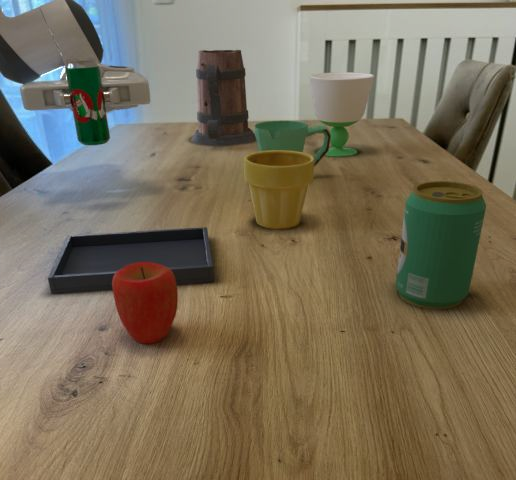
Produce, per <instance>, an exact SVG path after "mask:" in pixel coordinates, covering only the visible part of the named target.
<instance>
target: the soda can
mask: <svg viewBox="0 0 516 480" xmlns="http://www.w3.org/2000/svg"><path fill="white" fill-rule="evenodd" d="M66 62H67V64H66V67H65V66H64V67H65V72H66V77H67V83H68V88H69V94H70V98H71V103H72V110H73V112H72V115H73V120H74V127H75V133H76V137H77V141H78V142H79V143H80V144H82V145H83V146H101V145H106V144H108V142H110V139H111V134H110V128H109V121H108V115H107V114H108V113H106V107H105V102H104V95H103V87H102V80H101V74H100V67H99V65H98V64H97V63H96V59H94V58H76V59H67V60H66Z"/></svg>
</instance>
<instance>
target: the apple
mask: <svg viewBox="0 0 516 480" xmlns="http://www.w3.org/2000/svg"><path fill="white" fill-rule="evenodd" d="M112 288H113V289H112V294H113V298H114V303H115V308H116V312H117V315H118V317H119V319H120V322H121V324H122V325H123V327H124V329H125V330H126V332H127V334H128V335H129V336H130V337H131V338H132V339H133V340H134V341H135V342H138V343H141V344H146V345H147V344H154V343H157V342H159V341H161V340H162V339H164V338H165V337H166V336H168V334H169V332H170V331H171V328H172V325H173V323H174V321H175V318H176V315H177V311H178V303H179V301H178V299H179V297H178V296H179V295H178V285H176V280H175V276H174V274H173V272H172V271H171V269H170V268H167V267H165V266H162V265H160V264H156V263H152V262H139V263H133V264H130V265H127V266H125V267H124V268H122V269H121V270H119V271H117V272H116V273H115V274H114V276H113V281H112Z"/></svg>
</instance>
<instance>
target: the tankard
mask: <svg viewBox="0 0 516 480" xmlns="http://www.w3.org/2000/svg"><path fill="white" fill-rule="evenodd" d="M246 74H247V73H246V68H245V66H244V61H243V55H242V50H241V49H213V50H207V49H206V50H205V49H203V50H198V51H197V64H196V69H195V78H196V83H197V84H196V86H197V87H196V90H197V91H196V92H197V112H196V120H197V123H198V124H197V125H198V126H197V127H198V129H196V130H195V132H194V134H193V136H192V137H191V139H190V141H191V142H192V143H193V144H198V145H204V146H216V147H217V146H218V147H219V146H221V147H223V146H238V145H244V144H248V143H252V142H254V141H257V140H256V136H255V133H254V131H253V130H252V128H250V127H249V116H250V115H249V110H248V107H247V106H248V105H247V92H246V91H247V89H246Z"/></svg>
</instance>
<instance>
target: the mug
mask: <svg viewBox="0 0 516 480" xmlns="http://www.w3.org/2000/svg"><path fill="white" fill-rule="evenodd" d="M253 130H254V131H253V132H254V135H255V136H256V140H255V141H256V144H257V149H258V152H260V151H268V150H288V151H298V152H303V153H304V148H305V144H306V143H305V142H306V139H307V138H308V137H311V136H313V135H316V134H323V136H324V137H323V143H322V145H321V146H320V148H319V149H320V150H319V149H318V150H319V151H318V150H317V151H318V152H316V154H315V155H314V156H313V157H314V168H315V167H316V166H317V165H318V164H319V162H321V160H322V159H323V158H324V157H325V156H324V155H325V154H326V153H327V152H328V150H329V147H330V145H331V144H330V138H331V132H330V130H329V128H328V126H327V125H326V124H321V125H314V126H310V127H309V125H308V123H306V122H303V121H298V120H297V121H295V120H269V121H262V122H258V123H256V124H255V125H254V126H253Z"/></svg>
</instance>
